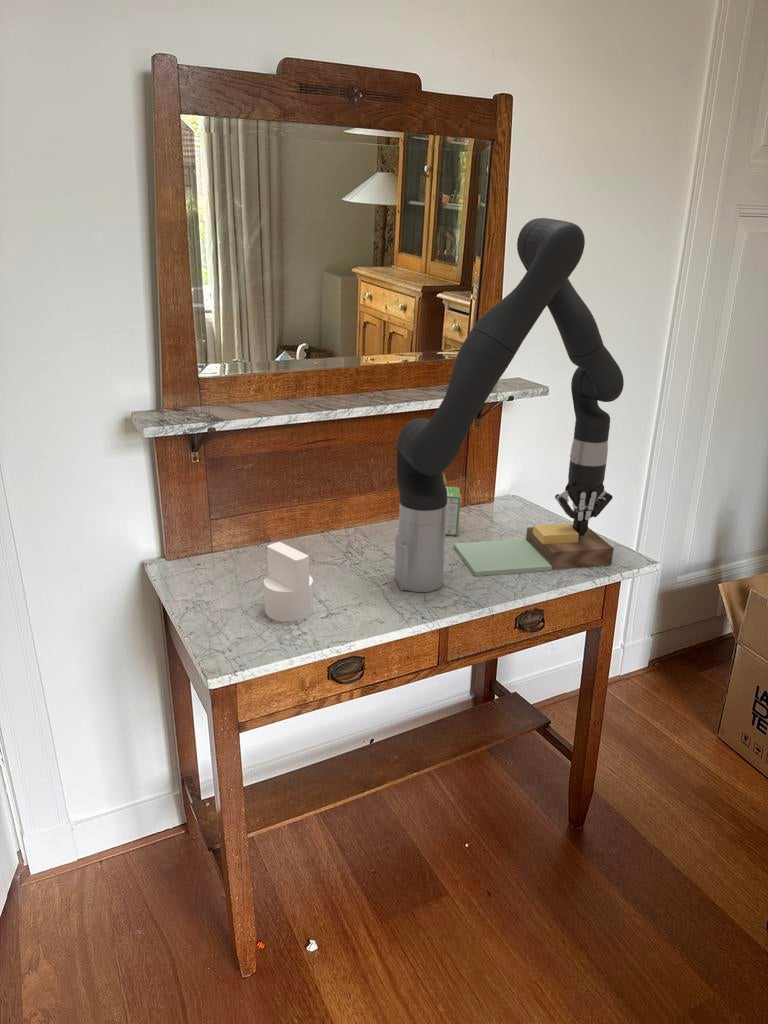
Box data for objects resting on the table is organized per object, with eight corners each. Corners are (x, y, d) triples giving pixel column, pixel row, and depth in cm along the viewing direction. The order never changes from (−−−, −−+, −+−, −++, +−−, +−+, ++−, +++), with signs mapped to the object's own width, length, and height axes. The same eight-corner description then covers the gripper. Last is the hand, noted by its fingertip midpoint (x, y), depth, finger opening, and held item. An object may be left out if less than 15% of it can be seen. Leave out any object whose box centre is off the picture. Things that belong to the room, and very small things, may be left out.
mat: (474, 576, 156) (475, 571, 156) (453, 547, 170) (453, 543, 169) (551, 570, 159) (552, 566, 159) (524, 542, 173) (525, 538, 173)
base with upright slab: (255, 609, 141) (252, 550, 136) (293, 594, 147) (291, 537, 142) (284, 626, 135) (282, 565, 131) (323, 610, 141) (322, 551, 136)
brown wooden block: (550, 569, 160) (552, 552, 158) (525, 543, 173) (527, 527, 171) (611, 565, 163) (613, 548, 161) (582, 539, 175) (584, 524, 174)
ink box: (458, 536, 176) (462, 481, 171) (441, 536, 176) (444, 481, 171) (456, 525, 182) (460, 472, 178) (440, 524, 182) (443, 472, 178)
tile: (543, 544, 162) (543, 535, 162) (532, 533, 168) (533, 525, 167) (577, 542, 164) (578, 533, 163) (566, 531, 169) (567, 523, 168)
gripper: (566, 466, 155) (558, 543, 162) (625, 463, 158) (615, 539, 164) (551, 455, 162) (544, 530, 169) (608, 453, 165) (599, 526, 171)
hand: (579, 534), depth 166 cm, fingers closed
